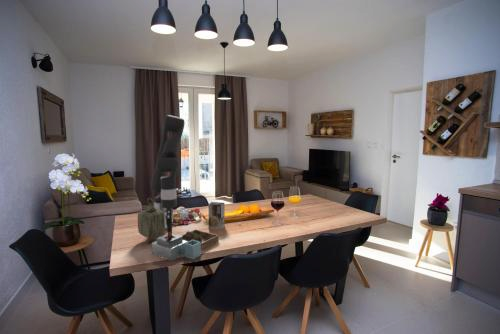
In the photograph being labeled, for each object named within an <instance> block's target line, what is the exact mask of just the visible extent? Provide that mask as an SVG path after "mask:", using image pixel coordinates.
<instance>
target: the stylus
mask: <svg viewBox="0 0 500 334" xmlns="http://www.w3.org/2000/svg"><path fill="white" fill-rule="evenodd" d="M171 218H172V216H171ZM172 233H173V231H172V232H167V234H168V239H172Z"/></svg>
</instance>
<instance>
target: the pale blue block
mask: <svg viewBox="0 0 500 334" xmlns="http://www.w3.org/2000/svg"><path fill="white" fill-rule="evenodd" d="M167 238H168V233H166V234H163V235H160V236H159V237H158V238H157V237H156V240H154V241H151V253H152V255H154V256H158V257H159V256H160V258H162V257H163V259H165V260H168V261H171V262H172V261H174V260H176V259H179V258H180V257H182V256H185V243H186V242H188V241H184V240H183V236H181V235H179V234H175V233H173V232H172V239H170V240H169V239H167Z"/></svg>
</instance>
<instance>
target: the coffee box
mask: <svg viewBox="0 0 500 334" xmlns="http://www.w3.org/2000/svg"><path fill="white" fill-rule="evenodd" d="M207 208H208V229H217V230H222V229H224V228H225V226H226V225H225V224H226V223H225V220H226V219H225V218H226V217H225V202H221V201H219V202H217V201H211V202H210V203H208V207H207Z"/></svg>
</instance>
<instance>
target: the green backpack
mask: <svg viewBox="0 0 500 334" xmlns="http://www.w3.org/2000/svg"><path fill="white" fill-rule="evenodd" d="M149 200H151V201H152V202H150V203H149ZM146 202H147V204H148V205H149V206H147V207H146V208H145V209H143V210H141V211H139V212H138V213H137V230H138V233H139V234H140V235H141V236H143V237H144V238H147V239H146V243H150V239H152V238H156V239H157V238H158V237H161V236H164V235H165V230H166V229H165V220H164V213H163V212H162V211H160V210H158V209H155V207H154V198H151V197H148V198H147V200H146Z"/></svg>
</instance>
